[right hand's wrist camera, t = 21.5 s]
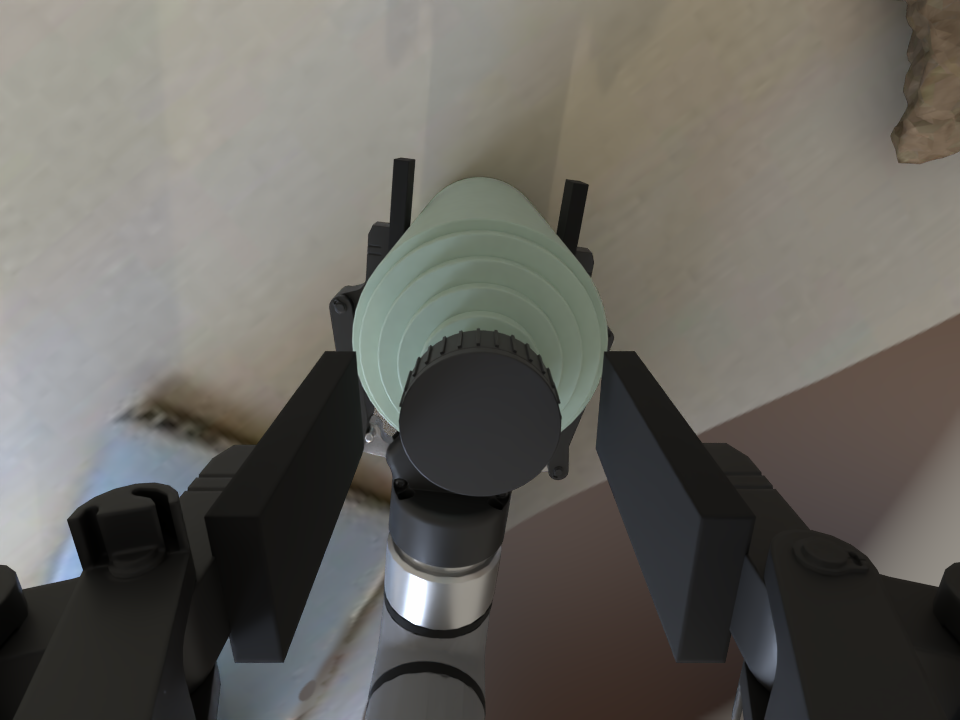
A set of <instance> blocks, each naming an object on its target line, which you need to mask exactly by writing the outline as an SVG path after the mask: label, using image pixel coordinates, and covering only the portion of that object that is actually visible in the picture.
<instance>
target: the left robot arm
mask: <svg viewBox="0 0 960 720" xmlns="http://www.w3.org/2000/svg"><path fill="white" fill-rule="evenodd" d="M414 170H415V159H408V158H397V159H394V166H393V181H392V197H391V212H390V223H385V222H376V223H375V224H374V225H373V226H372V228H371V230H370V232H369V234H368V251H367V252H368V254H367V271H366V281H365V283H363V284H360V285H356V286H345V287H344V288H342V289H341V290H340V291H339V292H338V294H337V295H336V296H335V297H334V298H333V299H332V300H331V302H330V306H329V309H330V315H331V321H332V328H333V334H334V340H335V346H336V351H353V345H352V334H353V322H354V317H355V311H356V308H357V305H358V302H359V299H360V296H361V293H362V291H363V289H364V287H365V285H366V283H367V281H368V279H369V278H370V277H371V275H372V274H373V272H374V271H375V269H376V268H377V266H378V265H379V264H380V263H381V261H382V260H383V259H384V258H385V257H386V255H387V254H388V253H389V252H390V250H391V249H392V248H393V247H394V245H395V244H396V243H397V242H398V241H399V239H400V238H401V237H402V236H403V234H404V233H405V232H406V231H407V230H408V228H409V227H410V221H411V208H412V195H413V183H414ZM588 186H589V185H588V184H586V183H583V182H581V181H575V180H568V179H566V181H565V187H564V193H563V199H562V205H561V211H560V216H559V222H558V228H557V236H558V237H559V238H560V239H561V240H562V242H563V243H564V244H565V245H566V247H567V248H568V249H569V250H570V251H571V253H572V254H573V255H574V256H575V258H576V259H577V260H578V261H579V262H580V264H581V265H582V266H583V268H584V269H585V271H586V272H587V273H588V275H589V276H590V277H591V275H592V270H593V265H594V261H593V255H592V252H591V251H590V250H589V249H588V248H582V247H577V245H578V239H579V234H580V229H581V223H582V218H583V213H584V207H585V202H586V196H587V191H588ZM607 331H608V346H607V351H609V350H610V348H611V346H612V343H613V340H614V336H613V333H612V332H611V330H610V329H609V327H608V326H607ZM358 381H359V392H360V404H361V416H362V428H363V440H364V450H363V452H367V453H371V454H375V455H379V456H383V457H386V461H387V463H388V465H389V467H390V469H391V471H392V477H393V479H392V491H391V504H390V516H389V531H390V532H389V536H388V540H387V553H386V567H385V585H384V603H383V611H382V620H381V629H380V638H379V645H378V651H377V656H376V661H375V666H374V671H373V676H372V680H371V685H370V691H369V696H368V703H367V710H366V716H365V720H485V648H486V639H487V631H488V623H489V616H490V609H491V606H492V600H493V596H494V593H495V587H496V581H497V575H498V569H499V563H500V557H501V549H502V547H501V544H502V542H503V538H504V533H505V527H506V521H507V515H508V510H509V504H510V498H511V492H512V491H509V492H506V493H502V494H498V495H491V496H469V495H463V494H458V493H455V492H452V491H449V490H446V489H444V488H442V487H440V486H438V485H436V484H434V483H433V482H431V481H430V480H428V479H427V478H426V477H425V476H423V475H422V474H421V473H420V472H419V471H418V470H417V469H416V468H415V466H414V465H413V464H412V462H411V461H410V459H409V458H408V456H407V454H406V452H405V450H404V447H403V445H402V442H401V437H400V433H399V431H397V432H396V433H395V434H394V435H393V436H389V435H387V434H386V433H385V432H384V429H383V422H382V420H381V419H380V418H379V416H377V415H373V414H374V405H373V403H372V402H371V401H370V399H369V397H368V395H367V393H366V392H365V390H364V388H363V386H362V383H361V381H360V378H359V375H358ZM585 407H586V406H585ZM584 409H585V408H584ZM584 409H583V411H582V412H581V413H580V414H579V415H578V416H577V417H576V419H575V420H574V421H573V422H572V423H571V424H570V425H569V426H567V427H566V428H565V429H564V430H563V431H562V432H561V434H560V439H559V443H558V446H557V448H556V451H555V453H554V455H553V457H552V458H551V460H550V461H549V463H548V464H547V465H546V467H545V468H544V469H543V470H542V471H541V472H546V471H548V472H549V476H550V477H551V478H553V479H555V480H561V479H563V478H565V477H566V476H567V475H568V465H569V445H570V443H571V440H572V438H573V435H574V433H575V431H576V428H577V426H578V424H579V421H580V419H581V417H582V414H583V412H584Z"/></svg>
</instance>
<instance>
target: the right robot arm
mask: <svg viewBox="0 0 960 720" xmlns="http://www.w3.org/2000/svg"><path fill="white" fill-rule="evenodd" d="M363 450H364V440H363V428H362V416H361V404H360V392H359V381H358V369H357V357H356V351H325V352H324V354H323V355H322V356H321V358H320V359H319V361H318V362H317V363H316V365H315V366H314V367H313V369H312V370H311V371H310V373H309V374H308V375H307V377H306V378H305V380H304V381H303V382H302V384H301V385H300V386H299V388H298V389H297V390H296V392H295V393H294V395H293V396H292V397H291V399H290V400H289V401H288V403H287V404H286V405H285V407H284V408H283V410H282V411H281V412H280V414H279V415H278V416H277V418H276V419H275V420H274V422H273V423H272V425H271V426H270V427H269V429H268V430H267V431H266V433H265V434H264V435H263V437H262V438H261V440H260V441H259V442H258V444H257V445H233V446H232V447H230V448H228V449H227V450H225V451H224V452H222V453H220V454H219V455H217V456H216V457H214V458H212V460H211V461H210V462H209V463H208V464H207V466H206V467H205V468H204V469H203V470H202V471H201V473H200V474H199V478H196V479H195V480H194V481H193V482H192V483H191V485H190V486H189V487H188V491H185V492H184V493H183V494H182V495H181V496H180V498H179V495H178V492H177V491H176V490H175V489H173V488H172V487H171V486H169V485H164V484H159V483H141V484H133V485H129V486H124V487H120V488H116V489H113V490H111V491H108V492H106V493H103V494H101V495H99V496H96V497H94V498H92V499H91V500H89V501H88V502H86V503H85V504H83V505H82V506H80V507H78V508H77V509H76V510H75V512H74V513H73V514H72V515H71V516H70V517H69V518H68V519H67V521H68V525H69V528H70V531H71V534H72V537H73V540H74V543H75V547H76V550H77V553H78V556H79V559H80V562H81V565H82V568H83V571H82V574H81V576H80V577H77V578H74V579H70V580H65V581H60V582H56V583H51V584H46V585H41V586H37V587H32V588H27V589H22V588H21V585H20V582H19V580H18V577H17V574H16V572H15V571H13V570H12V569H11V568H9V567H8V566H7V565H0V720H216V719H217V711H218V702H219V694H220V685H221V684H220V677H219V671H218V666H217V662H216V661H217V659H218V657H219V655H220V653H221V651H222V649H223V647H224V645H225V643H226V641H227V639H228V637H230V642H231V647H232V652H233V656H234V661H235V663H284V660H285V658H286V655H287V652H288V650H289V647H290V644H291V642H292V639H293V636H294V634H295V631H296V628H297V626H298V623H299V620H300V618H301V615H302V612H303V610H304V607H305V605H306V602H307V599H308V597H309V594H310V591H311V589H312V586H313V583H314V581H315V578H316V575H317V573H318V570H319V567H320V565H321V562H322V559H323V557H324V554H325V551H326V549H327V546H328V543H329V541H330V538H331V535H332V533H333V530H334V527H335V525H336V522H337V519H338V517H339V514H340V511H341V509H342V506H343V503H344V501H345V498H346V495H347V493H348V490H349V488H350V485H351V482H352V480H353V477H354V474H355V472H356V469H357V466H358V464H359V461H360V458H361V456H362V453H363ZM596 450H597V453H598V456H599V458H600V461H601V464H602V466H603V469H604V472H605V474H606V477H607V480H608V482H609V485H610V487H611V490H612V493H613V495H614V498H615V501H616V503H617V506H618V509H619V511H620V514H621V517H622V519H623V522H624V525H625V527H626V530H627V533H628V535H629V538H630V541H631V543H632V546H633V549H634V551H635V554H636V557H637V559H638V562H639V565H640V567H641V570H642V573H643V575H644V578H645V580H646V583H647V586H648V588H649V591H650V594H651V596H652V599H653V602H654V605H655V607H656V610H657V612H658V615H659V618H660V620H661V623H662V626H663V628H664V631H665V634H666V636H667V639H668V642H669V644H670V647H671V650H672V652H673V655H674V658H675V660H676V663H725V661H726V656H727V652H728V647H729V642H730V637H731V634H732V636H733V638H734V640H735V642H736V644H737V646H738V648H739V650H740V652H741V653H742V655H743V658H744V662H743V666H742V671H741V675H740V680H739V684H738V688H737V693H736V697H735V701H734V706H733V712H732V718H731V720H740V717H741V713H742V709H743V717H744V720H960V562H959V563H954V564H952V565H951V566H949V567H948V568H947V569H945V572H944V575H943V577H942V580H941V583H940V585H939V587H936V586H931V585H926V584H921V583H917V582H912V581H907V580H902V579H897V578H893V577H888V576H885V575H881V574H879V572H878V570H877V569H876V567H875V566H874V565H873V564H872V562H871V561H870V560H869V558H868V557H867V556H866V555H864V554H863V553H862V552H860V551H859V550H858V549H856V548H855V547H854V546H852V545H851V544H849V543H846V542H844V541H842V540H840V539H838V538H836V537H834V536H831V535H828V534H824V533H820V532H817V531H813V530H810V529H809V528H808V527H807V526H806V525H805V523H804V522H803V521H802V520H801V519H800V517H799V516H798V515H797V514H796V513H795V511H794V510H793V509H792V508H791V507H790V506H789V504H788V503H787V502H786V501H785V500H784V499H783V497H782V496H781V495H780V494H779V493H778V491H777V490H776V489H773V486H772V484H771V483H770V482H769V481H768V480H767V478H766V477H765V476H762V475H761V471H760V470H759V469H758V468H757V467H756V465H755V464H754V463H753V462H752V461H751V460H750V458H749V457H748V456H746V455H745V454H743V453H741V452H740V451H738V450H736V449H735V448H733V447H732V446H730V445H728V444H727V443H702V442H701V441H700V440H699V438H698V437H697V435H696V434H695V433H694V431H693V430H692V429H691V427H690V426H689V425H688V423H687V422H686V420H685V419H684V418H683V416H682V415H681V414H680V412H679V411H678V410H677V408H676V407H675V405H674V404H673V403H672V401H671V400H670V399H669V397H668V396H667V395H666V393H665V392H664V390H663V389H662V388H661V386H660V385H659V384H658V382H657V381H656V380H655V378H654V377H653V375H652V374H651V373H650V371H649V370H648V369H647V367H646V366H645V365H644V363H643V362H642V361H641V359H640V358H639V356H638V355H637V354H636V352H635V351H604V357H603V369H602V381H601V392H600V404H599V416H598V428H597V440H596Z"/></svg>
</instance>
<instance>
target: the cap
mask: <svg viewBox="0 0 960 720" xmlns="http://www.w3.org/2000/svg"><path fill="white" fill-rule="evenodd" d="M559 404H561V402H560V399H559V395H558V392H557V389H556V386H555V383H554V381H553V378H552V375H551V371H550V369H549V367H548V368H546V367H545V365H544V363H543V361H542V357H541V355H540V354H539V355H537V354H536V353H535V352H534V351H533V350H532V349H531V348H530V346H529V344H528V343H526V344H524V343H523V342H521V341H519V340H517V339H516V338H515V336H514V335H511V336H509V335H506V334H503V333H499V332H498V330H494V331H487V330H480V328H477V330H473V331H466V332H463V331H462V330H461V331H459V333H458V334H454V335H452V336H449V337H446V336H444V337H443V338H442V340H441V341H439V342H438V343H436V344H435V345H433V346H432V345H430V346H429V347H428V350H427V351H426V352H425V353H424V354H423V355H422V357H421V358H420V357H418V358H417V361H416V364H415V367H414V369H413V371H411V370H410V372H409V374H408V378H407V381H406V384H405V388H404V391H403V394H402V397H401V401H400V404H399V407H401V410H400V415H399V420H398V421H399V433H400V437H401V442H402V445H403V447H404V450H405V452H406V454H407V456H408V458H409V459H410V461H411V462H412V464H413V465H414V466H415V468H416V469H417V470H418V471H419V472H420V473H421V474H422V475H423V476H425V477H426V478H427V479H428V480H430V481H431V482H433V483H434V484H436V485H438V486H440V487H442V488H444V489H446V490H449V491H452V492H455V493H458V494H463V495H469V496H491V495H498V494H502V493H506V492H509V491H512V490H514V489H517V488H519V487H521V486H523V485H524V484H526V483H528V482H529V481H531V480H532V479H533V478H534V477H536V476H537V475H538V474H539V473H540V472H541V471H542V470H543V469H544V468H545V467H546V465H547V464H548V463H549V461H550V460H551V458H552V457H553V455H554V453H555V451H556V448H557V446H558V443H559V439H560V434H561V420H562V416H561V412H560V408H559Z"/></svg>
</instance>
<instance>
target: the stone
mask: <svg viewBox="0 0 960 720" xmlns="http://www.w3.org/2000/svg"><path fill="white" fill-rule="evenodd" d="M901 1H906V2H907V3H908V6H907V13H906V18H907V21H908V24H909V25H910V27H911V28H912V29H913V32H912V35H911V39H910V43H909V47H908V51H907V56H908V60H909V62H910V63H911V66H910V69H909V71H908V72H907V74H906V78H905V83H904V88H903V92H904V94H905V97H906V99H907V102H908V107H907V109H906V111H905V113H904V115H903V116H902V118H901V120H900V122H899V123H898V125H897V126H896V127H895V128H894V130H893V132H892V134H891V139H892V142H893V145H894V147H895V149H896V155H897V159H898V163H910V164H921V163H924V162H928V161H931V160H935V159H939V158H944V157H947V156H949V155H952V154H955V153H957V152H959V151H960V0H901Z"/></svg>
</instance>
